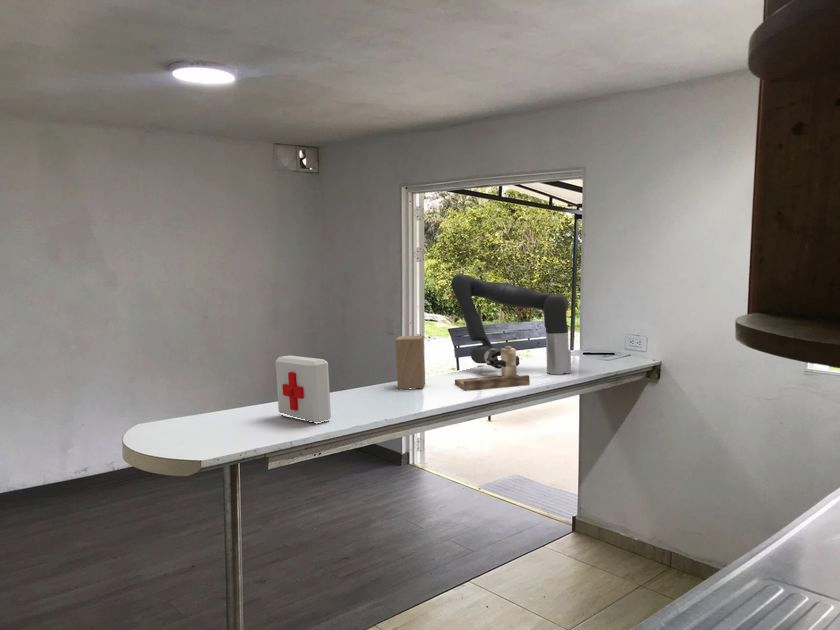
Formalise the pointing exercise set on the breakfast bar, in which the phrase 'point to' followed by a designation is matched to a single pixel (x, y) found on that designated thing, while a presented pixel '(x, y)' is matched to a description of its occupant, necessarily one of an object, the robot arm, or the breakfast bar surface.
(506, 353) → the mottled beige cylinder
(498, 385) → the board
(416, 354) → the wooden block
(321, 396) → the bevelled white case
